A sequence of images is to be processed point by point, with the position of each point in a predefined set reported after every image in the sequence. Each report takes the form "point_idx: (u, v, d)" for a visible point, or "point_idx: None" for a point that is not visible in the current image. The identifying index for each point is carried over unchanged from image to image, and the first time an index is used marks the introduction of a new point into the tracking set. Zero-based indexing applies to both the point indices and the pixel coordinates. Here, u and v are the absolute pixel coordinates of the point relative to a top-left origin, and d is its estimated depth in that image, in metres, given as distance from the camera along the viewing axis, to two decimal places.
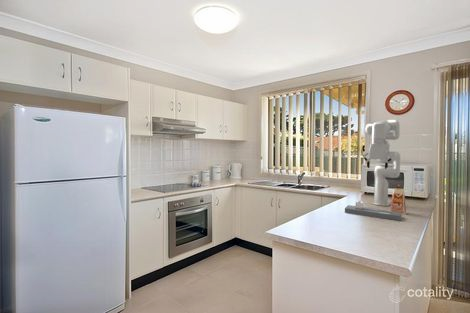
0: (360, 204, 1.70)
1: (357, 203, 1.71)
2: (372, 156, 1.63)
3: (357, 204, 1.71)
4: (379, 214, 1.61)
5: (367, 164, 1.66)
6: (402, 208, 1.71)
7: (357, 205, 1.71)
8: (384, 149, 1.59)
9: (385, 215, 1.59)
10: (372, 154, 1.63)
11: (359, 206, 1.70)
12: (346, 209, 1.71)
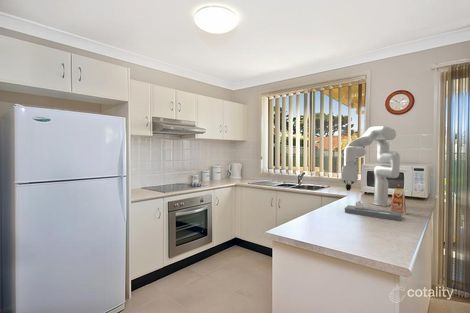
0: (360, 204, 1.70)
1: (357, 203, 1.71)
2: (344, 177, 1.75)
3: (357, 204, 1.71)
4: (379, 214, 1.61)
5: (346, 187, 1.76)
6: (402, 208, 1.71)
7: (357, 205, 1.71)
8: (354, 171, 1.72)
9: (385, 215, 1.59)
10: (344, 175, 1.75)
11: (359, 206, 1.70)
12: (346, 209, 1.71)
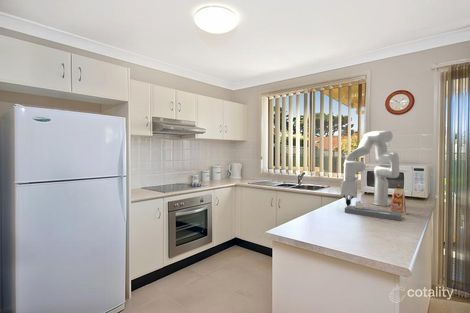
0: (360, 204, 1.70)
1: (357, 203, 1.71)
2: (343, 192, 1.76)
3: (357, 204, 1.71)
4: (379, 214, 1.61)
5: (346, 202, 1.76)
6: (402, 208, 1.71)
7: (357, 205, 1.71)
8: (354, 186, 1.72)
9: (385, 215, 1.59)
10: (343, 190, 1.76)
11: (359, 206, 1.70)
12: (346, 209, 1.71)
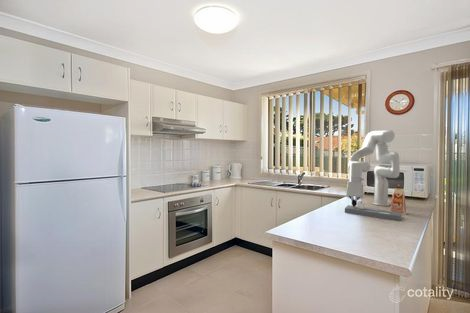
0: (362, 204, 1.69)
1: (359, 203, 1.70)
2: (349, 193, 1.74)
3: (359, 204, 1.70)
4: (379, 214, 1.61)
5: (352, 202, 1.74)
6: (402, 208, 1.71)
7: (359, 205, 1.70)
8: (360, 187, 1.70)
9: (385, 215, 1.59)
10: (349, 191, 1.74)
11: (361, 206, 1.69)
12: (346, 209, 1.71)
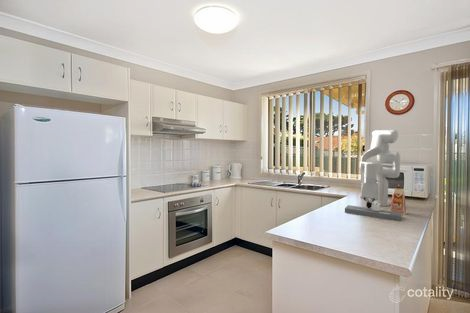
0: (377, 206, 1.64)
1: (374, 205, 1.65)
2: (364, 194, 1.69)
3: (374, 206, 1.65)
4: (379, 214, 1.61)
5: (367, 204, 1.69)
6: (402, 208, 1.71)
7: (374, 207, 1.65)
8: (375, 189, 1.65)
9: (385, 215, 1.59)
10: (364, 193, 1.69)
11: (376, 208, 1.64)
12: (346, 209, 1.71)
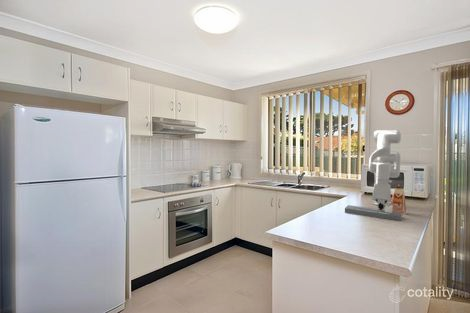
0: (390, 208, 1.60)
1: (387, 207, 1.61)
2: (376, 196, 1.65)
3: (387, 208, 1.61)
4: (379, 214, 1.61)
5: (378, 206, 1.65)
6: (402, 208, 1.71)
7: (387, 209, 1.61)
8: (388, 190, 1.61)
9: (385, 215, 1.59)
10: (376, 194, 1.65)
11: (389, 210, 1.61)
12: (346, 209, 1.71)
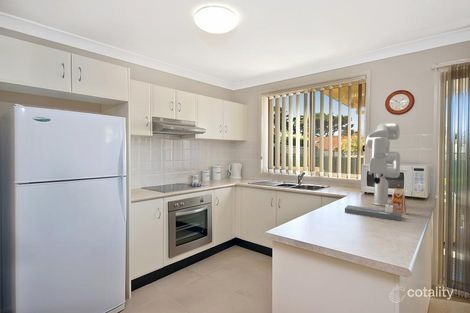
0: (390, 208, 1.60)
1: (387, 207, 1.61)
2: (372, 170, 1.66)
3: (387, 208, 1.61)
4: (379, 214, 1.61)
5: (375, 180, 1.66)
6: (402, 208, 1.71)
7: (387, 209, 1.61)
8: (384, 163, 1.62)
9: (385, 215, 1.59)
10: (372, 168, 1.66)
11: (389, 210, 1.60)
12: (346, 209, 1.71)
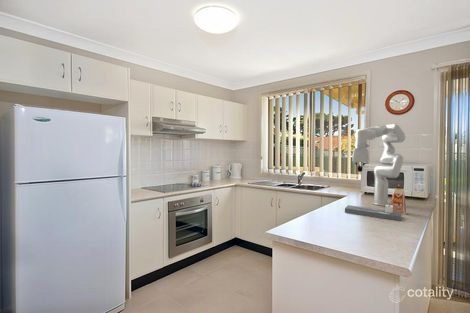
0: (390, 208, 1.60)
1: (387, 207, 1.61)
2: (355, 159, 1.82)
3: (387, 208, 1.61)
4: (379, 214, 1.61)
5: (358, 168, 1.83)
6: (402, 208, 1.71)
7: (387, 209, 1.61)
8: (366, 153, 1.78)
9: (385, 215, 1.59)
10: (355, 157, 1.82)
11: (389, 210, 1.60)
12: (346, 209, 1.71)
